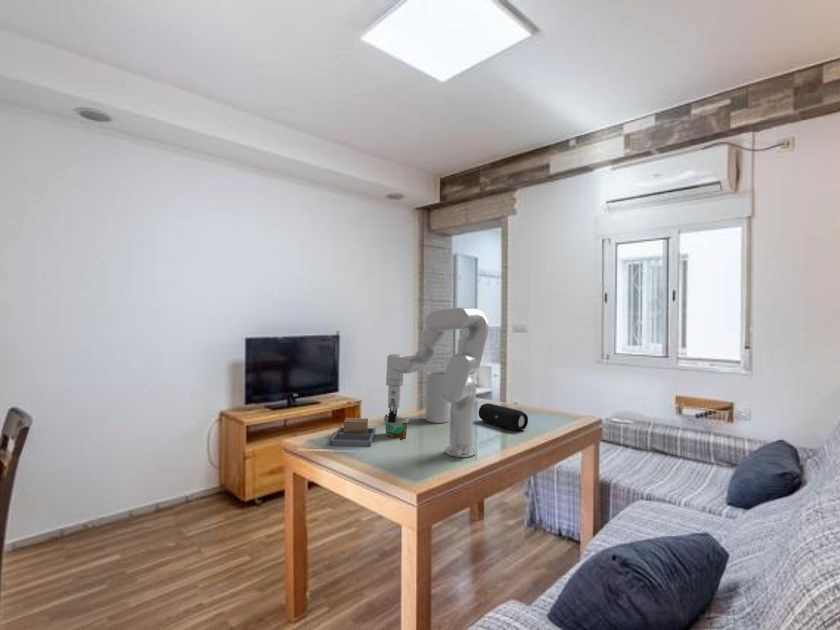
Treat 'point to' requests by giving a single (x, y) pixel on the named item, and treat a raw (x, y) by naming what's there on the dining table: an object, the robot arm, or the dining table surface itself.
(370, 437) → the tray
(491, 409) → the portable speaker
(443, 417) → the cylinder vase
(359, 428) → the tan rectangular block
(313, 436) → the dining table surface
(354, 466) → the dining table surface
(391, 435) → the food container
